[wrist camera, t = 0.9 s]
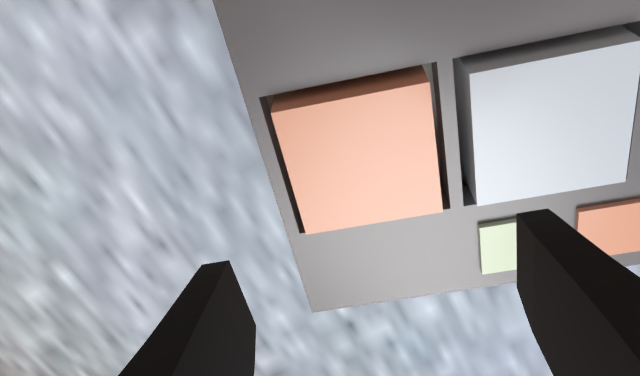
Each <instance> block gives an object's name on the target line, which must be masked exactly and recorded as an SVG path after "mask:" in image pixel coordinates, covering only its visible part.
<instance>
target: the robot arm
mask: <svg viewBox="0 0 640 376" xmlns="http://www.w3.org/2000/svg"><path fill="white" fill-rule="evenodd" d="M516 241H517V289H518V292H519V295H520V298H521V301H522V304H523V307H524V310H525V313H526V316H527V318H528V321H529V324H530V327H531V329H532V332H533V334H534V336H535V339H536V341H537V343H538V345H539V347H540V349H541V351H542V353H543V355H544V357H545V359H546V361H547V363H548V365H549V367H550V369H551V372H552V374H553V376H640V277H638V276H637V275H636V274H634V273H633V272H631V271H630V270H629V269H627V268H626V267H624V266H623V265H622V264H620V263H619V262H617V261H616V260H615V259H613V258H612V257H611V256H609V255H608V254H607V253H605V252H604V251H603V250H601V249H600V248H599V247H597V246H596V245H595V244H593V243H592V242H591V241H590V240H588V239H587V238H586V237H584V236H583V235H582V234H580V233H579V232H578V231H577V230H575V229H574V228H573V227H572V226H570V225H569V224H568V223H567V222H565V221H564V220H563V219H561V218H560V217H559V216H558V215H556V214H555V213H554V212H552V211H551V210H550V209H548V208H547V209H541V210H535V211H529V212H522V213H516ZM255 340H256V325H255V322H254V320H253V317H252V315H251V312H250V310H249V308H248V305H247V303H246V300H245V298H244V295H243V293H242V291H241V288H240V286H239V283H238V281H237V278H236V276H235V274H234V271H233V269H232V266H231V264H230V261H229V260H228V261H222V262H216V263H210V264H204V265H202V266H201V267H200V268H199V269H198V271H197V272H196V273H195V275H194V276H193V278H192V279H191V280H190V282H189V283H188V285H187V286H186V287H185V289H184V290H183V291H182V293H181V294H180V296H179V297H178V298H177V300H176V301H175V303H174V304H173V305H172V307H171V308H170V310H169V311H168V312H167V314H166V315H165V316H164V318H163V319H162V321H161V322H160V323H159V325H158V326H157V327H156V329H155V330H154V331H153V333H152V334H151V335H150V337H149V338H148V339H147V341H146V342H145V343H144V345H143V346H142V347H141V348H140V349H139V351H138V352H137V353H136V354H135V356H134V357H133V358H132V359H131V361H130V362H129V363H128V364H127V365H126V367H125V368H124V369H123V370H122V372H121V373H120V374H119V375H118V376H254V366H255Z"/></svg>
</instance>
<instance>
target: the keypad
mask: <svg viewBox="0 0 640 376" xmlns="http://www.w3.org/2000/svg"><path fill="white" fill-rule="evenodd" d="M213 3H214V6H215V10H216V13H217V16H218V19H219V22H220V25H221V28H222V32H223V35H224V38H225V41H226V44H227V47H228V50H229V54H230V57H231V60H232V63H233V66H234V69H235V72H236V76H237V79H238V82H239V85H240V88H241V91H242V94H243V98H244V101H245V104H246V107H247V110H248V113H249V116H250V120H251V123H252V126H253V129H254V132H255V135H256V138H257V142H258V145H259V148H260V151H261V154H262V157H263V160H264V164H265V167H266V170H267V173H268V176H269V179H270V182H271V186H272V189H273V192H274V195H275V198H276V201H277V204H278V207H279V211H280V214H281V217H282V220H283V223H284V226H285V229H286V233H287V236H288V239H289V242H290V245H291V248H292V251H293V255H294V258H295V261H296V264H297V267H298V270H299V273H300V277H301V280H302V283H303V286H304V289H305V292H306V295H307V299H308V302H309V305H310V308H311V311H312V312H319V311H326V310H333V309H339V308H346V307H353V306H360V305H366V304H373V303H380V302H387V301H394V300H400V299H407V298H414V297H421V296H427V295H434V294H441V293H448V292H455V291H461V290H468V289H475V288H482V287H488V286H495V285H502V284H509V283H515V282H517V241H516V213H522V212H529V211H535V210H541V209H547V208H548V209H550V210H551V211H552V212H554V213H555V214H556V215H558V216H559V217H560V218H561V219H563V220H564V221H565V222H567V223H568V224H569V225H570V226H572V227H573V228H574V229H575V230H577V231H578V232H579V233H580V234H582V235H583V236H584V237H586V238H587V239H588V240H590V241H591V242H592V243H593V244H595V245H596V246H597V247H599V248H600V249H601V250H603V251H604V252H605V253H607V254H608V255H609V256H611V257H612V258H613V259H615V260H616V261H617V262H619V263H620V264H622V265H623V266H631V265H637V264H640V75H639V83H638V91H637V98H636V106H635V113H634V121H633V128H632V136H631V144H630V151H629V159H628V166H627V174H626V181H625V182H621V183H615V184H609V185H603V186H597V187H591V188H585V189H579V190H573V191H567V192H561V193H555V194H549V195H543V196H537V197H531V198H525V199H519V200H513V201H507V202H501V203H495V204H489V205H483V206H477V205H476V203H475V200H474V198H473V196H472V193H471V191H470V189H469V186H468V184H467V182H466V179H465V177H464V175H463V172H462V170H461V165H460V152H459V139H458V126H457V112H456V99H455V86H454V73H453V60H452V58H457V57H462V56H467V55H472V54H477V53H482V52H487V51H492V50H497V49H502V48H507V47H512V46H517V45H522V44H527V43H532V42H537V41H542V40H547V39H552V38H557V37H562V36H567V35H572V34H577V33H582V32H586V31H591V30H596V29H601V28H606V27H611V26H616V25H621V26H622V27H624V28H626V29H627V30H629V31H631V32H632V33H634V34H636V35H637V36H639V37H640V0H213ZM417 65H422V66H423V68H424V70H425V73H426V75H427V77H428V79H429V81H430V90H431V99H432V109H433V119H434V128H435V138H436V148H437V157H438V167H439V177H440V187H441V196H442V206H443V212H441V213H435V214H428V215H422V216H416V217H410V218H404V219H398V220H392V221H386V222H380V223H374V224H368V225H362V226H356V227H350V228H344V229H338V230H332V231H326V232H320V233H314V234H308V235H306V232H305V229H304V226H303V222H302V219H301V215H300V212H299V208H298V205H297V202H296V198H295V195H294V191H293V188H292V185H291V181H290V178H289V174H288V171H287V167H286V164H285V161H284V157H283V154H282V150H281V147H280V144H279V140H278V137H277V133H276V130H275V126H274V123H273V120H272V116H271V109H272V104H273V98H274V94H278V93H283V92H288V91H293V90H298V89H303V88H308V87H313V86H318V85H323V84H328V83H333V82H338V81H343V80H348V79H353V78H358V77H363V76H368V75H373V74H378V73H383V72H388V71H393V70H398V69H403V68H407V67H412V66H417Z"/></svg>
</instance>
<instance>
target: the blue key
mask: <svg viewBox="0 0 640 376" xmlns="http://www.w3.org/2000/svg"><path fill="white" fill-rule="evenodd" d="M452 60H453V73H454V86H455V99H456V112H457V126H458V139H459V152H460V165H461V170H462V172H463V175H464V177H465V179H466V182H467V184H468V186H469V189H470V191H471V193H472V196H473V198H474V200H475V203H476V205H477V206H483V205H489V204H495V203H501V202H507V201H513V200H519V199H525V198H531V197H537V196H543V195H549V194H555V193H561V192H567V191H573V190H579V189H585V188H591V187H597V186H603V185H609V184H615V183H621V182H625V181H626V174H627V166H628V159H629V151H630V144H631V136H632V128H633V121H634V113H635V106H636V98H637V91H638V83H639V75H640V37H639V36H637V35H636V34H634V33H632V32H631V31H629V30H627V29H626V28H624V27H622V26H621V25H616V26H611V27H606V28H601V29H596V30H591V31H586V32H582V33H577V34H572V35H567V36H562V37H557V38H552V39H547V40H542V41H537V42H532V43H527V44H522V45H517V46H512V47H507V48H502V49H497V50H492V51H487V52H482V53H477V54H472V55H467V56H462V57H457V58H452Z"/></svg>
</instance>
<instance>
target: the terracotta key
mask: <svg viewBox="0 0 640 376" xmlns="http://www.w3.org/2000/svg"><path fill="white" fill-rule="evenodd" d="M271 116H272V120H273V123H274V126H275V130H276V133H277V137H278V140H279V144H280V147H281V150H282V154H283V157H284V161H285V164H286V167H287V171H288V174H289V178H290V181H291V185H292V188H293V191H294V195H295V198H296V202H297V205H298V208H299V212H300V215H301V219H302V222H303V226H304V229H305V232H306V235H308V234H314V233H320V232H326V231H332V230H338V229H344V228H350V227H356V226H362V225H368V224H374V223H380V222H386V221H392V220H398V219H404V218H410V217H416V216H422V215H428V214H435V213H441V212H443V206H442V196H441V187H440V177H439V167H438V157H437V148H436V138H435V128H434V119H433V109H432V99H431V90H430V81H429V79H428V77H427V75H426V73H425V70H424V68H423V66H422V65H417V66H412V67H407V68H403V69H398V70H393V71H388V72H383V73H378V74H373V75H368V76H363V77H358V78H353V79H348V80H343V81H338V82H333V83H328V84H323V85H318V86H313V87H308V88H303V89H298V90H293V91H288V92H283V93H278V94H274V98H273V104H272V109H271Z"/></svg>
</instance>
